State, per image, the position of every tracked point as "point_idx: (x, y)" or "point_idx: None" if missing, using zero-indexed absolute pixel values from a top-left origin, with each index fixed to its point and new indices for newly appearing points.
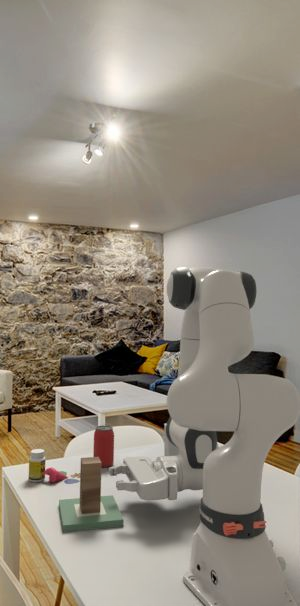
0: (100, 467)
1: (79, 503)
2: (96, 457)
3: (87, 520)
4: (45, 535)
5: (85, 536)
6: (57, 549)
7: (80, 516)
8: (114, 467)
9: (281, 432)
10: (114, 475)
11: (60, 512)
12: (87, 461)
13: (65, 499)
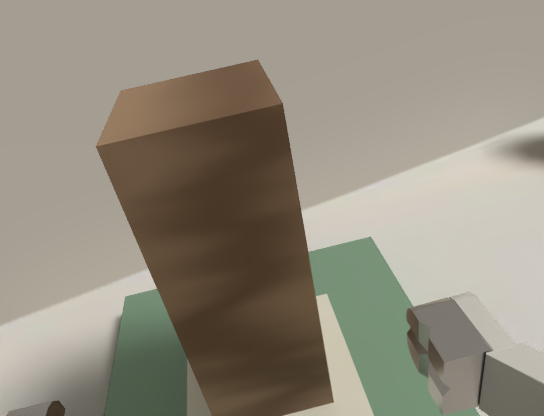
0: (114, 183)
1: (340, 312)
2: (260, 99)
3: (137, 377)
4: (131, 275)
5: (62, 403)
6: (18, 325)
7: None
8: (483, 333)
9: None
10: (431, 391)
11: None
12: (165, 91)
13: (380, 254)
